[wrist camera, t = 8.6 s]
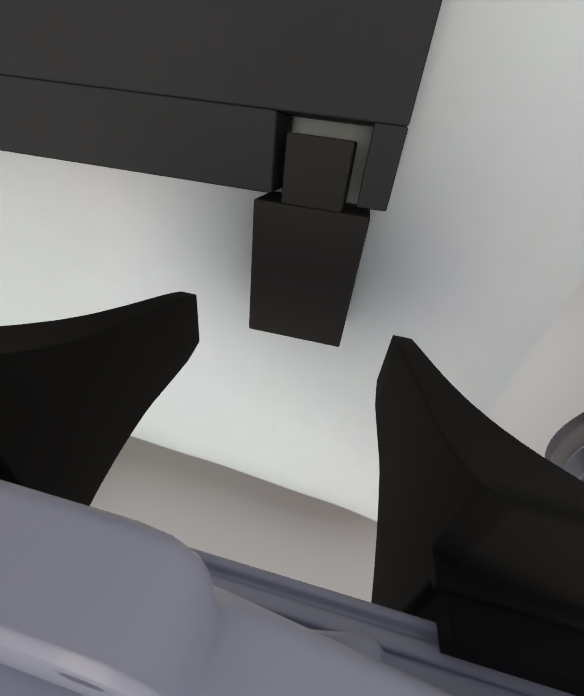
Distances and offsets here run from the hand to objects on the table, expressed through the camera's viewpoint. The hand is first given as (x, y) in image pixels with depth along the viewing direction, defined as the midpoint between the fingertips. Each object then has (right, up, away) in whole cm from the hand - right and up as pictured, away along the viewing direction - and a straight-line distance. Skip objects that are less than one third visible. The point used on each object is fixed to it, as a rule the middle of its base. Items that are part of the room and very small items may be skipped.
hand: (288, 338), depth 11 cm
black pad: (+1, +5, +5) cm, 8 cm away
